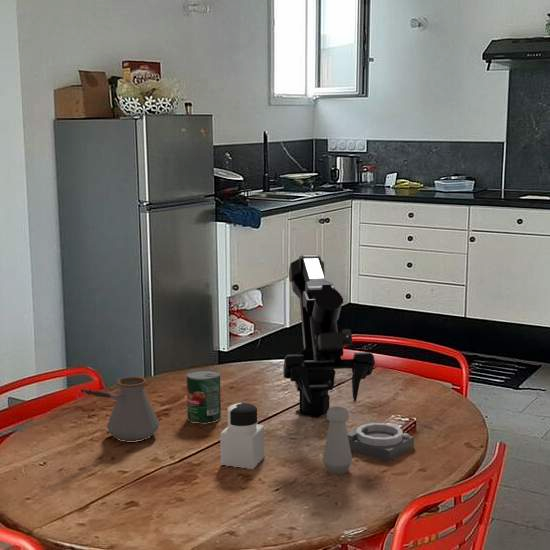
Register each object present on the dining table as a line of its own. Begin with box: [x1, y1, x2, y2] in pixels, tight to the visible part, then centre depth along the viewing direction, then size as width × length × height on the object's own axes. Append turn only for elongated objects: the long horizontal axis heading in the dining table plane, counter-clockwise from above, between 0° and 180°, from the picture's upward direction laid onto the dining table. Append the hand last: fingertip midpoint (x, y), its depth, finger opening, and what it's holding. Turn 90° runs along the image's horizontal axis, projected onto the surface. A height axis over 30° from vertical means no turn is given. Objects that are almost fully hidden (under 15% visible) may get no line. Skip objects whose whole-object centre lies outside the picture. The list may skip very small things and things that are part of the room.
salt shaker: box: [322, 406, 353, 475], centre depth 170 cm, size 6×6×13 cm
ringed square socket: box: [347, 420, 415, 463], centre depth 182 cm, size 11×10×4 cm
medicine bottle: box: [219, 402, 266, 470], centre depth 175 cm, size 7×7×12 cm
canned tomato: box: [186, 368, 222, 423], centre depth 200 cm, size 8×8×11 cm
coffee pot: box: [76, 376, 160, 441], centre depth 185 cm, size 21×12×15 cm, turn 147°
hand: (333, 401), depth 175 cm, fingers open, 9 cm apart
